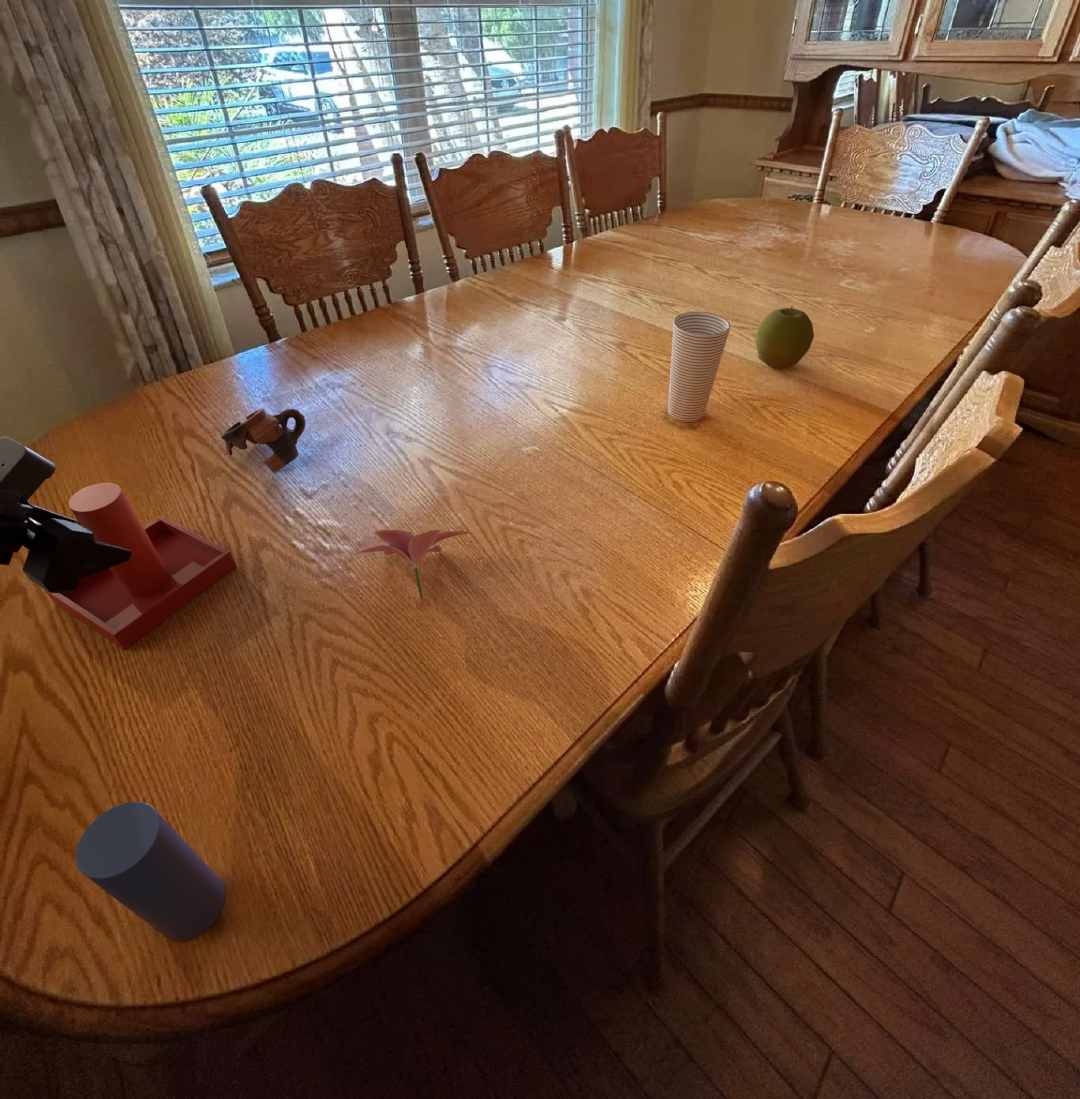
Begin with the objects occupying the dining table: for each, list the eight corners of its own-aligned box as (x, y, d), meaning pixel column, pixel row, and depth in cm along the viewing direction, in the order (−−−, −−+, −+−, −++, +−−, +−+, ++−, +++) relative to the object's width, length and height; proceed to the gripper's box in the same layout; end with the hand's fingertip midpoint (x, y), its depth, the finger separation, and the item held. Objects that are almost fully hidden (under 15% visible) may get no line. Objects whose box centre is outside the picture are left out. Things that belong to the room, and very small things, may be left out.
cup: (716, 427, 102) (736, 335, 92) (663, 427, 102) (678, 335, 91) (705, 400, 108) (723, 311, 98) (656, 400, 108) (669, 311, 98)
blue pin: (167, 956, 48) (82, 896, 39) (151, 899, 51) (68, 831, 42) (233, 912, 50) (168, 845, 41) (214, 860, 53) (149, 787, 44)
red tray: (124, 650, 69) (113, 635, 67) (55, 604, 74) (43, 589, 72) (237, 566, 79) (230, 551, 77) (169, 530, 83) (161, 515, 82)
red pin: (157, 597, 74) (104, 512, 65) (115, 596, 74) (57, 510, 65) (176, 567, 78) (130, 483, 69) (137, 566, 78) (85, 481, 69)
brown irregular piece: (259, 487, 91) (218, 440, 87) (250, 481, 99) (212, 438, 95) (326, 438, 95) (290, 391, 91) (312, 436, 103) (278, 393, 99)
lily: (487, 572, 79) (470, 498, 77) (446, 609, 69) (425, 524, 66) (405, 579, 84) (387, 510, 81) (355, 615, 73) (332, 536, 70)
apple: (795, 381, 113) (813, 321, 106) (743, 367, 117) (757, 309, 110) (810, 359, 120) (828, 301, 112) (759, 347, 123) (774, 290, 116)
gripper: (15, 465, 51) (184, 499, 66) (-96, 404, 58) (79, 447, 73) (-31, 592, 52) (147, 598, 66) (-136, 516, 59) (46, 537, 73)
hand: (104, 540), depth 69 cm, fingers open, 9 cm apart
